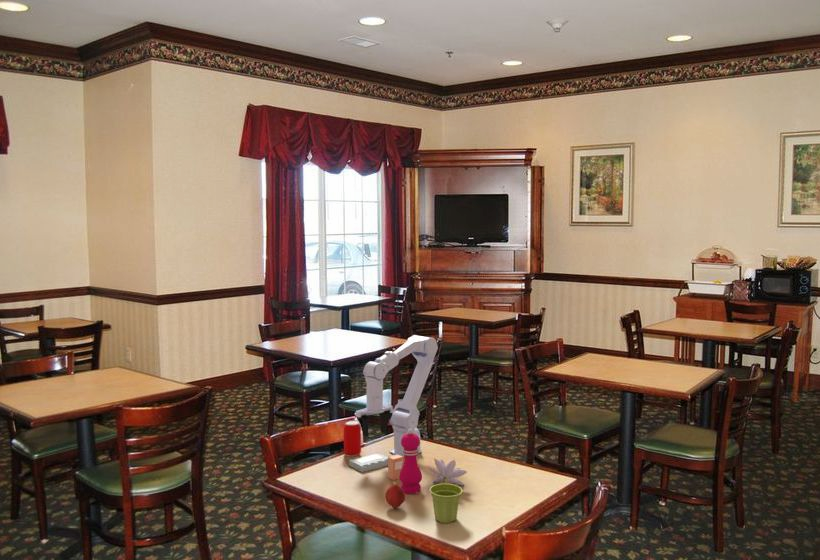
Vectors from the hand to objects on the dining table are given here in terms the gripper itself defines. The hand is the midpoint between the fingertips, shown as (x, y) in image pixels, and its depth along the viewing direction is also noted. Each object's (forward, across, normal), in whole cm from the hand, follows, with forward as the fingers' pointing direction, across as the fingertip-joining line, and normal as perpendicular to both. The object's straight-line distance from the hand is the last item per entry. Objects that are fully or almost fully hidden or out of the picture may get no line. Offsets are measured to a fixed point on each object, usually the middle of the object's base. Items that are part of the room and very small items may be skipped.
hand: (374, 434), depth 245 cm
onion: (+11, -17, -36) cm, 41 cm away
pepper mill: (+11, -5, -28) cm, 30 cm away
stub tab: (+10, -2, -16) cm, 19 cm away
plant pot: (+11, -10, -51) cm, 53 cm away
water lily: (+11, +6, -33) cm, 35 cm away
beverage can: (+11, -1, +12) cm, 16 cm away
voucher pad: (+10, -2, -1) cm, 11 cm away
